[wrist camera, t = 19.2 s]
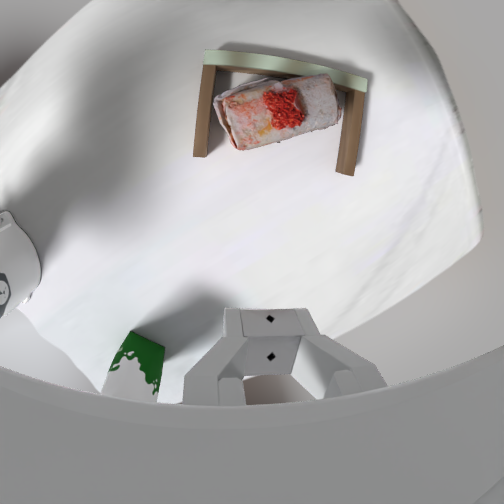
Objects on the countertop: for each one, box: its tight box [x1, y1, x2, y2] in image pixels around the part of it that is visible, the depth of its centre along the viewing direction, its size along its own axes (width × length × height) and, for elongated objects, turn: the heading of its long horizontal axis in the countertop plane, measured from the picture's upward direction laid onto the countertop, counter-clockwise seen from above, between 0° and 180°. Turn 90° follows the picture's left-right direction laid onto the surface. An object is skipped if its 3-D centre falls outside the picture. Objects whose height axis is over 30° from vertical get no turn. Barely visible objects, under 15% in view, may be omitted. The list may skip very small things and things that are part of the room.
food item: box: [213, 73, 342, 150], centre depth 29 cm, size 14×8×10 cm, turn 110°
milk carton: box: [101, 331, 165, 402], centre depth 38 cm, size 9×9×20 cm
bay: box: [193, 50, 368, 176], centre depth 31 cm, size 21×14×4 cm, turn 84°
